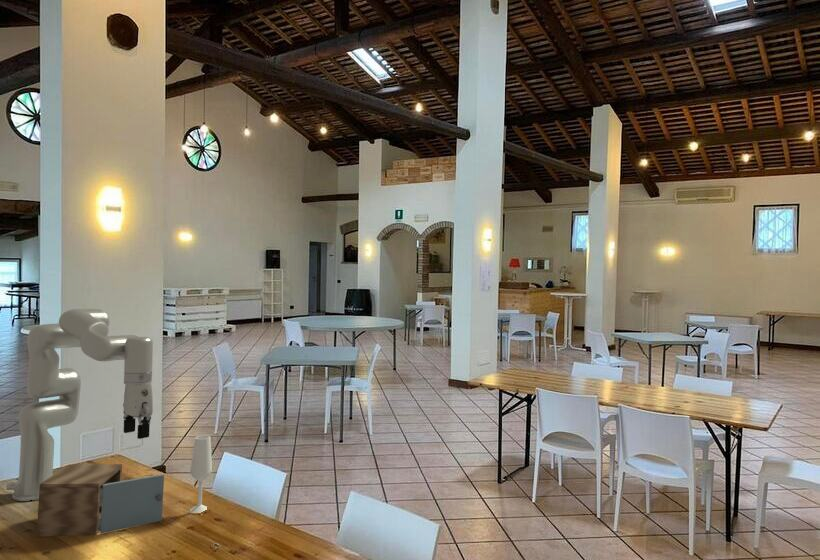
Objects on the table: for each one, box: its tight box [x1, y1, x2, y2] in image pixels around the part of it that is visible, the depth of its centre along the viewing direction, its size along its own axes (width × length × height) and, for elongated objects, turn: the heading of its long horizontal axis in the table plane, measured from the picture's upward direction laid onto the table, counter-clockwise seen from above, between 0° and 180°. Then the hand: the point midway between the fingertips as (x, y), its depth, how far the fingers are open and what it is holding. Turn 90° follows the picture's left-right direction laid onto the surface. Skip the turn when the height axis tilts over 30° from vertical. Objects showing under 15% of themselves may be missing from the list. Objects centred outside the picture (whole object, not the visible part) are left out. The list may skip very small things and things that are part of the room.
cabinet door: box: [98, 473, 165, 535], centre depth 159 cm, size 2×17×14 cm, turn 128°
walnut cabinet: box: [36, 463, 123, 537], centre depth 161 cm, size 16×17×15 cm
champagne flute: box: [189, 434, 213, 514], centre depth 173 cm, size 7×7×24 cm
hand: (136, 434), depth 158 cm, fingers open, 9 cm apart
